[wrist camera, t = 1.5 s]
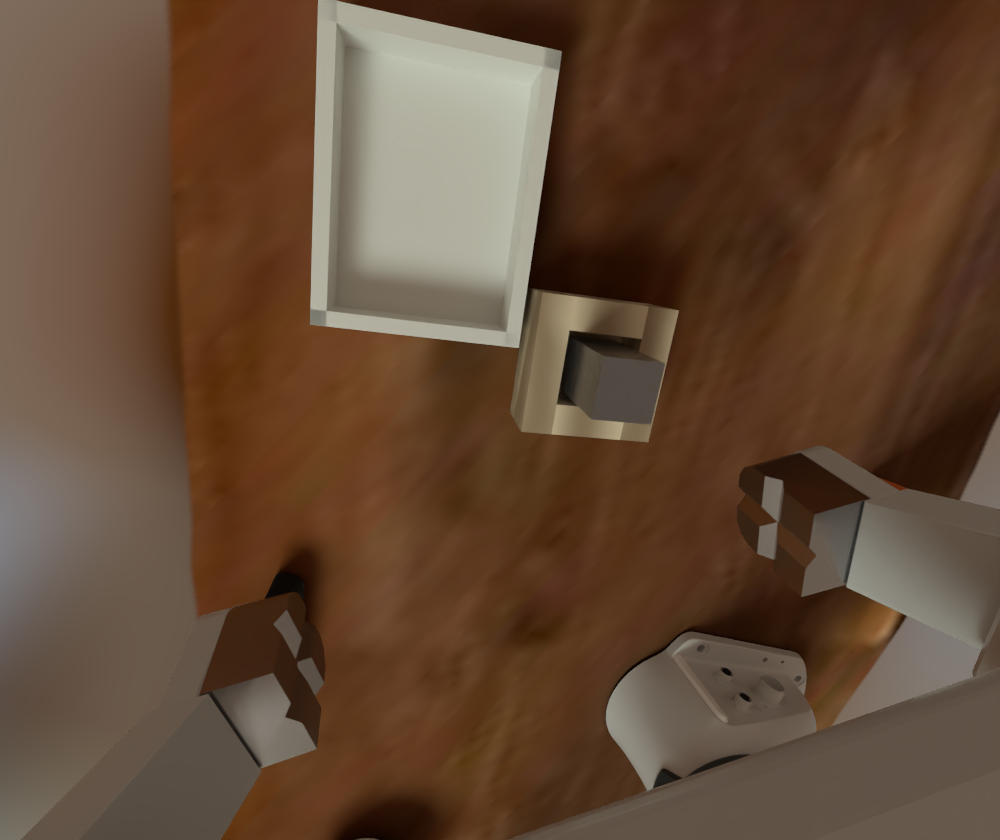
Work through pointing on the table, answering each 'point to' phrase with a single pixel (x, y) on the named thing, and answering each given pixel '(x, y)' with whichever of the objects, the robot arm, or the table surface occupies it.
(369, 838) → the lidded jar
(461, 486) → the table surface
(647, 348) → the socket block
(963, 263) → the table surface
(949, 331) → the table surface
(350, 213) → the grey tray
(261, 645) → the robot arm
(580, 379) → the pin
